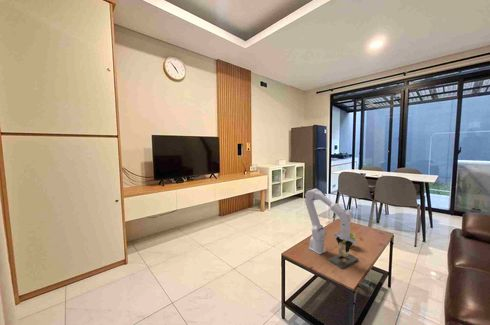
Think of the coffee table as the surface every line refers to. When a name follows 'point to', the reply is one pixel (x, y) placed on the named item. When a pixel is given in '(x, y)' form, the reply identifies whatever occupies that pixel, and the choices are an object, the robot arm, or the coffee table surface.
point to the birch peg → (342, 249)
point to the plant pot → (351, 237)
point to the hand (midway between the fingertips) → (344, 250)
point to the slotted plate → (341, 263)
